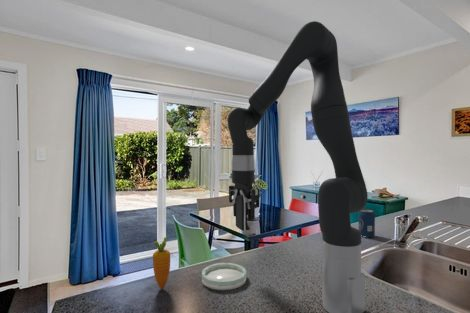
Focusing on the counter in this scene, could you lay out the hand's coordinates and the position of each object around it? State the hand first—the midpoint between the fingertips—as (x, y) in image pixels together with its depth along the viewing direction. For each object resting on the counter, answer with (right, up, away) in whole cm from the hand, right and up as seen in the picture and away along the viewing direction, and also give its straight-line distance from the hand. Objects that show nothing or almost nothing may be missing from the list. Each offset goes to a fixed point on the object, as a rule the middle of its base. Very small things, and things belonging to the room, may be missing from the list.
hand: (243, 218), depth 95 cm
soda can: (+59, -17, +38) cm, 72 cm away
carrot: (-24, -18, -12) cm, 33 cm away
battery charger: (0, -4, 0) cm, 4 cm away
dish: (-6, -18, -5) cm, 20 cm away
